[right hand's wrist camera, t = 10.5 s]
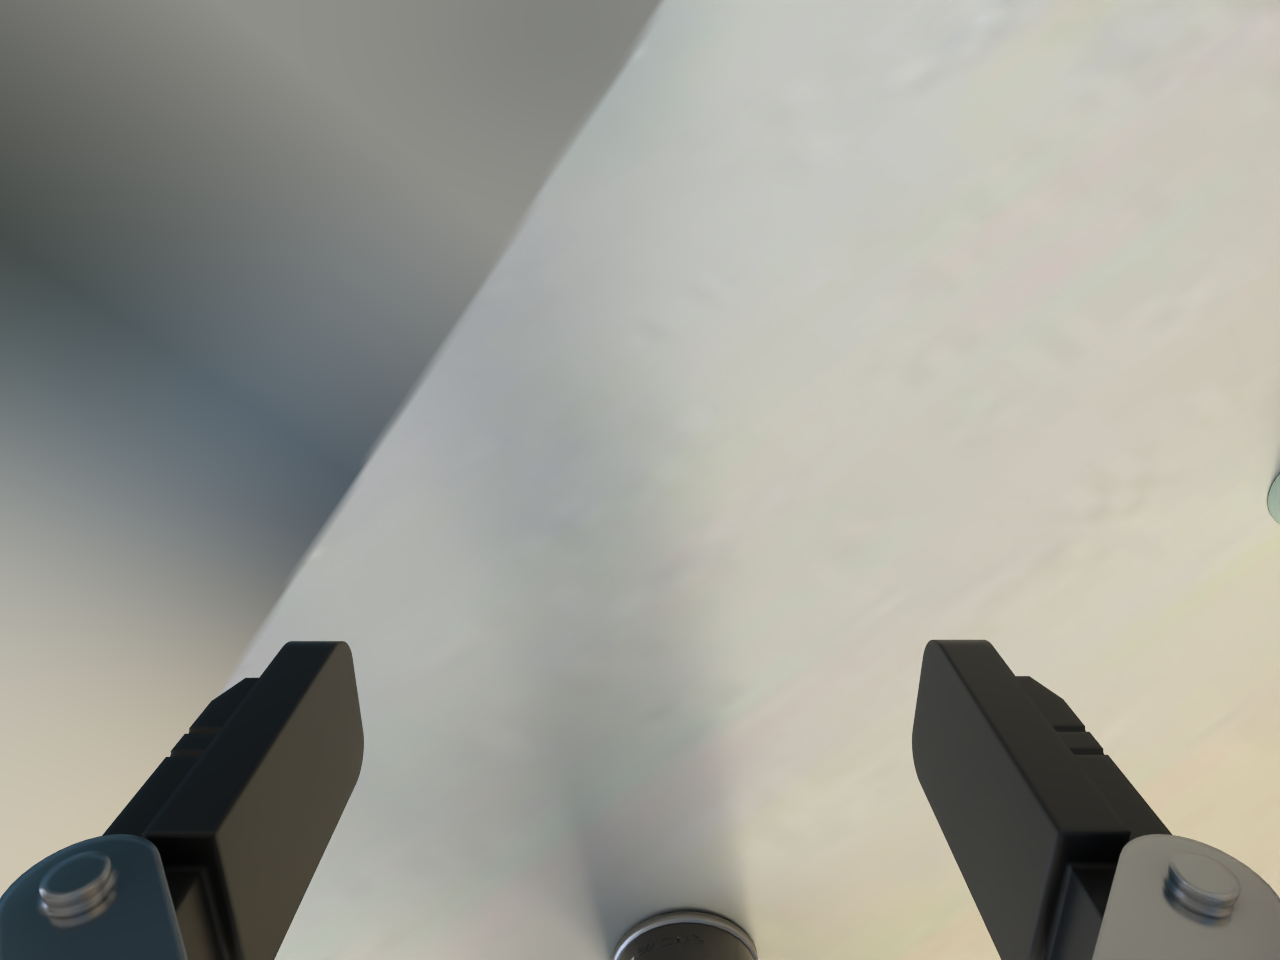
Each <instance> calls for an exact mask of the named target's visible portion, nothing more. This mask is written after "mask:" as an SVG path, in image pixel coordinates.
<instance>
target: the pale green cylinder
mask: <svg viewBox="0 0 1280 960" xmlns="http://www.w3.org/2000/svg"><path fill="white" fill-rule="evenodd" d="M1268 508H1269V511H1270V513H1271V515H1272V517H1273V518H1274V520H1275V521H1276V522H1278V523H1279V524H1280V474H1279V476H1278V477H1277V478H1276V479H1275V481H1274V483H1273V484H1272V487H1271V489H1270V492H1269V496H1268Z"/></svg>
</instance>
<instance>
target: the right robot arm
mask: <svg viewBox="0 0 1280 960" xmlns="http://www.w3.org/2000/svg"><path fill="white" fill-rule="evenodd" d="M363 750H364V736H363V728H362V721H361V714H360V707H359V700H358V693H357V686H356V679H355V672H354V665H353V658H352V653H351V650H350V648H349V646H348V644H347V643H346V642H343V641H290V642H288V643H286V644H285V645H284V646H283V647H282V649H281V650H280V651H279V653H278V654H277V655H276V657H275V658H274V659H273V661H272V662H271V663H270V665H269V666H268V667H267V669H266V670H265V671H264V672H263V674H262V675H261V676H260V678H245V679H243V680H242V681H240V682H239V683H238V684H236V685H235V686H233V687H232V688H230V689H229V690H227V691H226V692H224V693H223V694H221V695H220V696H218V697H217V698H215V699H214V700H212V701H211V702H210V704H209V705H208V706H207V707H206V709H205V710H204V711H203V712H202V714H201V715H200V716H199V717H198V718H197V720H196V721H195V722H194V723H193V725H192V726H191V727H190V728H189V734H184V736H183V737H182V738H181V739H180V741H179V742H178V743H177V744H176V746H175V747H174V748H173V749H172V750H171V756H170V757H166V758H165V759H164V760H163V761H162V763H161V764H160V765H159V766H158V768H157V769H156V770H155V771H154V773H153V774H152V775H151V776H150V777H149V779H148V780H147V781H146V782H145V784H144V785H143V786H142V787H141V789H140V790H139V791H138V792H137V793H136V795H135V796H134V797H133V798H132V800H131V801H130V802H129V803H128V805H127V806H126V807H125V808H124V809H123V811H122V812H121V813H120V814H119V816H118V817H117V818H116V819H115V821H114V822H113V823H112V824H111V826H110V827H109V828H108V829H107V830H106V832H105V833H104V834H103V835H102V836H100V837H96V838H92V839H88V840H84V841H82V842H79V843H76V844H73V845H71V846H68V847H66V848H64V849H62V850H59V851H57V852H56V853H54V854H52V855H50V856H48V857H46V858H45V859H43V860H42V861H40V862H38V863H37V864H35V865H34V866H33V867H31V868H30V869H29V870H27V871H26V872H25V873H23V874H22V875H21V876H20V877H19V878H18V879H17V880H16V881H15V882H14V883H13V884H11V886H10V887H9V888H8V889H7V890H6V892H5V893H4V894H3V895H2V897H1V898H0V960H274V959H275V957H276V954H277V952H278V950H279V948H280V946H281V944H282V942H283V939H284V937H285V935H286V933H287V931H288V929H289V927H290V924H291V922H292V920H293V918H294V916H295V914H296V912H297V909H298V907H299V905H300V903H301V901H302V899H303V896H304V894H305V892H306V890H307V888H308V886H309V884H310V881H311V879H312V877H313V875H314V873H315V871H316V869H317V866H318V864H319V862H320V860H321V858H322V856H323V854H324V851H325V849H326V847H327V845H328V843H329V841H330V839H331V836H332V834H333V832H334V830H335V828H336V826H337V823H338V821H339V819H340V817H341V815H342V813H343V811H344V808H345V806H346V804H347V802H348V800H349V798H350V796H351V793H352V791H353V789H354V787H355V785H356V782H357V780H358V777H359V774H360V770H361V765H362V760H363ZM912 750H913V759H914V765H915V769H916V773H917V776H918V779H919V781H920V784H921V786H922V788H923V790H924V792H925V795H926V797H927V799H928V801H929V803H930V805H931V808H932V810H933V812H934V814H935V816H936V818H937V821H938V823H939V825H940V827H941V829H942V831H943V834H944V836H945V838H946V840H947V842H948V845H949V847H950V849H951V851H952V853H953V855H954V858H955V860H956V862H957V864H958V866H959V868H960V871H961V873H962V875H963V877H964V879H965V881H966V884H967V886H968V888H969V890H970V892H971V895H972V897H973V899H974V901H975V903H976V905H977V908H978V910H979V912H980V914H981V916H982V918H983V921H984V923H985V925H986V927H987V929H988V931H989V934H990V936H991V938H992V940H993V942H994V945H995V947H996V949H997V951H998V953H999V955H1000V958H1001V960H1280V898H1279V897H1278V895H1277V894H1276V893H1275V892H1274V890H1273V889H1272V888H1271V887H1270V886H1269V884H1267V883H1266V882H1265V881H1264V880H1263V879H1262V878H1261V877H1260V876H1259V875H1258V874H1257V873H1255V872H1254V871H1253V870H1251V869H1250V868H1249V867H1248V866H1246V865H1245V864H1243V863H1242V862H1240V861H1238V860H1237V859H1235V858H1234V857H1232V856H1230V855H1228V854H1226V853H1224V852H1223V851H1221V850H1218V849H1216V848H1214V847H1212V846H1209V845H1207V844H1204V843H1201V842H1198V841H1196V840H1192V839H1188V838H1184V837H1180V836H1174V835H1172V834H1171V833H1170V831H1169V830H1168V829H1167V828H1166V826H1165V825H1164V824H1163V823H1162V821H1161V820H1160V819H1159V818H1158V816H1157V815H1156V814H1155V813H1154V811H1153V810H1152V809H1151V808H1150V807H1149V805H1148V804H1147V803H1146V802H1145V800H1144V799H1143V798H1142V797H1141V795H1140V794H1139V793H1138V792H1137V790H1136V789H1135V788H1134V787H1133V785H1132V784H1131V783H1130V782H1129V780H1128V779H1127V778H1126V777H1125V775H1124V774H1123V773H1122V772H1121V771H1120V769H1119V768H1118V767H1117V766H1116V764H1115V763H1114V762H1113V761H1112V759H1111V758H1110V757H1109V756H1108V755H1104V753H1103V748H1102V747H1101V746H1100V744H1099V743H1098V742H1097V741H1096V739H1095V738H1094V737H1093V736H1092V734H1091V733H1090V732H1086V731H1085V726H1084V725H1083V723H1082V722H1081V721H1080V720H1079V718H1078V717H1077V716H1076V715H1075V713H1074V712H1073V711H1072V710H1071V708H1070V707H1069V706H1068V705H1067V703H1066V702H1065V701H1064V700H1063V699H1062V698H1060V697H1059V696H1057V695H1056V694H1055V693H1053V692H1052V691H1050V690H1049V689H1047V688H1046V687H1044V686H1043V685H1041V684H1040V683H1038V682H1037V681H1035V680H1034V679H1033V678H1031V677H1030V676H1015V675H1014V674H1013V672H1012V671H1011V670H1010V668H1009V667H1008V666H1007V664H1006V663H1005V662H1004V660H1003V659H1002V658H1001V656H1000V655H999V654H998V652H997V651H996V650H995V648H994V647H993V646H992V644H991V643H990V642H988V641H986V640H931V641H929V642H928V644H927V645H926V647H925V651H924V655H923V661H922V668H921V675H920V683H919V690H918V697H917V704H916V711H915V718H914V725H913V733H912ZM612 960H758V957H757V952H756V949H755V947H754V945H753V943H752V941H751V940H750V938H749V937H748V936H747V935H746V934H745V933H744V932H743V931H742V930H741V929H740V928H739V927H737V926H736V925H734V924H733V923H731V922H729V921H727V920H725V919H723V918H720V917H718V916H715V915H711V914H707V913H701V912H691V911H681V912H672V913H666V914H661V915H658V916H655V917H652V918H650V919H647V920H645V921H643V922H641V923H639V924H638V925H636V926H635V927H633V928H632V929H631V930H629V931H628V932H627V933H626V934H625V935H624V936H623V937H622V939H621V940H620V941H619V943H618V945H617V946H616V948H615V951H614V953H613V957H612Z"/></svg>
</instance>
